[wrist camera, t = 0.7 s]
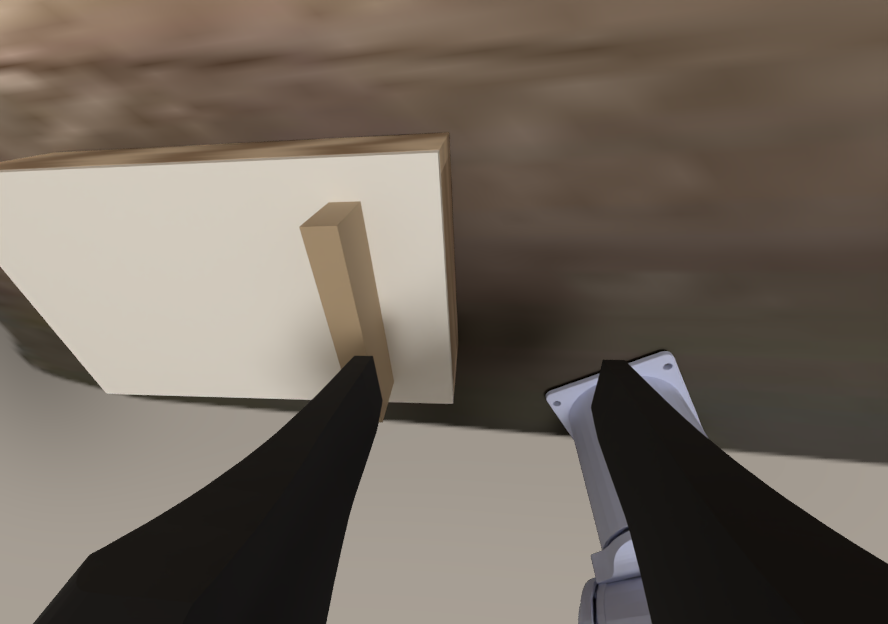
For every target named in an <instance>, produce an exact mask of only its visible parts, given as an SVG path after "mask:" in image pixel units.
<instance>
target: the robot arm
mask: <svg viewBox="0 0 888 624" xmlns="http://www.w3.org/2000/svg"><path fill="white" fill-rule="evenodd" d="M665 364H668V365H665ZM546 400H547V402H548V403H549V405H550V406H551V408H552V409H553V411H554V412H555V414H556V415H557V416H558V418H559V419H560V421H561V422H562V424H563V425H564V427H565V428H566V430H567V431H568V433H569V434H570V435H571V437H572V438H573V440H574V441H575V445H576V449H577V453H578V457H579V461H580V465H581V469H582V473H583V477H584V481H585V485H586V489H587V493H588V496H589V500H590V504H591V508H592V512H593V516H594V520H595V524H596V527H597V532H598V535H599V540H600V543H601V548H602V551H600V552H597V553H594V554H592V555H591V560H592V564H593V568H594V572H595V578H592V579H590V580H588V581H587V583H586V584H585V586H584V588H583V591H582V596H581V603H580V607H579V616H578V617H579V618H578V624H888V564H887V563H885V562H884V561H882V560H881V559H879V558H877V557H876V556H874V555H872V554H871V553H869V552H868V551H866V550H864V549H863V548H861V547H859V546H858V545H856V544H854V543H853V542H851V541H849V540H848V539H847V538H845V537H844V536H842V535H840V534H839V533H837V532H835V531H834V530H833V529H831V528H829V527H828V526H826V525H825V524H823V523H822V522H820V521H819V520H817V519H816V518H814V517H813V516H811V515H810V514H808V513H807V512H805V511H804V510H803V509H801V508H800V507H798V506H797V505H795V504H794V503H792V502H791V501H789V500H788V499H786V498H785V497H784V496H782V495H781V494H779V493H778V492H776V491H775V490H774V489H772V488H771V487H769V486H768V485H767V484H765V483H764V482H763V481H761V480H760V479H759V478H757V477H756V476H755V475H753V474H752V473H751V472H749V471H748V470H747V469H745V468H744V467H743V466H741V465H740V464H739V463H737V462H736V461H735V460H734V459H732V458H731V457H730V456H729V455H727V454H726V453H725V452H724V451H722V450H721V449H720V448H719V447H718V446H717V445H715V444H714V443H713V442H712V441H711V440H709V438H708V437H707V435H706V434H705V432H704V430H703V428H702V426H701V423H700V421H699V418H698V416H697V413H696V411H695V408H694V406H693V403H692V401H691V398H690V396H689V393H688V391H687V388H686V386H685V383H684V381H683V378H682V376H681V373H680V371H679V368H678V366H677V363H676V361H675V358H674V357H673V355H672V354H671V352H668V351H662V352H659V353H656V354H653V355H650V356H647V357H644V358H642V359H639V360H636V361H633V362H630V363H627V362H626V361H625V360H603V362H602V366H601V370H600V373H599V374H596V375H593V376H590V377H587V378H585V379H582V380H579V381H576V382H573V383H570V384H568V385H565V386H562V387H559V388H556V389H553V390H550V391H548V392H547V393H546ZM555 401H558V402H555ZM382 402H383V400H382V395H381V390H380V386H379V381H378V377H377V372H376V367H375V363H374V358H373V356H354V357H353V358H352V359H351V360H350V361H349V362H348V363H347V364H346V365H345V366H344V367H343V368H342V369H341V370H340V371H339V372H338V373H337V374H336V375H335V376H334V377H333V378H332V380H331V381H330V382H329V383H328V384H327V385H326V386H325V387H324V388H323V389H322V390H321V391H320V392H319V393H318V394H317V395H316V396H315V397H314V398H313V399H312V400H311V401H310V402H309V403H308V404H307V405H306V406H305V407H304V408H303V409H302V410H301V411H300V412H299V413H298V414H296V415H295V416H294V417H293V418H292V419H291V420H290V421H289V422H288V423H287V424H286V425H285V426H284V427H282V428H281V429H280V430H279V431H278V432H277V433H276V434H274V435H273V436H272V437H271V438H270V439H269V440H267V441H266V442H265V443H264V444H262V445H261V446H260V447H259V448H257V449H256V450H255V451H254V452H252V453H251V454H250V455H248V456H247V457H246V458H245V459H243V460H242V461H241V462H239V463H238V464H236V465H235V466H233V467H232V468H231V469H229V470H228V471H227V472H225V473H224V474H222V475H221V476H219V477H218V478H217V479H215V480H214V481H212V482H211V483H210V484H208V485H207V486H205V487H204V488H202V489H201V490H199V491H198V492H196V493H195V494H193V495H192V496H190V497H188V498H187V499H185V500H184V501H182V502H181V503H179V504H177V505H176V506H174V507H172V508H171V509H169V510H168V511H166V512H164V513H163V514H161V515H160V516H158V517H156V518H155V519H153V520H151V521H149V522H148V523H146V524H144V525H142V526H141V527H139V528H137V529H135V530H133V531H132V532H130V533H128V534H126V535H125V536H123V537H121V538H119V539H117V540H116V541H114V542H112V543H110V544H109V545H107V546H105V547H103V548H101V549H100V550H98V551H96V552H94V553H92V554H90V555H89V556H88V557H87V559H86V560H85V561H84V562H83V563H82V565H81V566H80V567H79V568H78V569H77V571H76V572H75V573H74V574H73V576H72V577H71V578H70V579H69V580H68V582H67V583H66V584H65V585H64V587H63V588H62V589H61V590H60V591H59V593H58V594H57V595H56V597H55V598H54V599H53V600H52V602H50V604H49V605H48V606H47V607H46V609H45V610H44V611H43V612H42V613H41V615H40V616H39V617H38V618H37V620H36V621H35V622H34V623H33V624H326V621H327V616H328V611H329V606H330V601H331V595H332V590H333V586H334V581H335V577H336V572H337V567H338V563H339V558H340V553H341V549H342V544H343V540H344V536H345V532H346V527H347V523H348V519H349V515H350V511H351V508H352V504H353V501H354V498H355V495H356V492H357V489H358V486H359V482H360V479H361V477H362V474H363V471H364V468H365V465H366V462H367V459H368V456H369V453H370V450H371V447H372V444H373V441H374V438H375V434H376V431H377V427H378V423H379V418H380V413H381V408H382Z"/></svg>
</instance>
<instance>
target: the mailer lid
mask: <svg viewBox="0 0 888 624" xmlns="http://www.w3.org/2000/svg"><path fill="white" fill-rule="evenodd" d="M0 267H1V268H2V269H3V270H4V271H5V273H6V274H7V275H8V276H9V277H10V279H11V280H12V281H13V282H14V283H15V285H16V286H17V287H18V288H19V289H20V291H21V292H22V293H23V294H24V295H25V297H26V298H27V299H28V300H29V301H30V303H31V304H32V305H33V306H34V307H35V309H36V310H37V311H38V312H39V313H40V315H41V316H42V317H43V318H44V319H45V321H46V322H47V323H48V324H49V325H50V326H51V328H52V329H53V330H54V331H55V332H56V334H57V335H58V336H59V337H60V338H61V340H62V341H63V342H64V343H65V344H66V346H67V347H68V348H69V349H70V350H71V352H72V353H73V354H74V355H75V356H76V358H77V359H78V360H79V361H80V362H81V364H82V365H83V366H84V367H85V368H86V370H87V371H88V372H89V373H90V374H91V376H92V377H93V378H94V379H95V380H96V382H97V383H98V384H99V385H100V386H101V388H102V389H103V390H104V391H105V392H106V393H107V394H135V395H169V396H202V397H236V398H270V399H304V400H312V399H313V398H314V397H315V396H316V395H317V394H318V393H319V392H320V391H321V390H322V389H323V388H324V387H325V386H326V385H327V384H328V383H329V382H330V381H331V380H332V378H333V377H334V376H335V375H336V374H337V373H338V372H339V371H340V370H341V369H342V368H343V367H344V366H345V365H346V364H347V363H348V362H349V361H350V360H351V359H352V358H353V357H354V356H373V358H374V363H375V367H376V372H377V377H378V381H379V386H380V390H381V395H382V400H383V402H382V408H381V413H380V418H379V422H383V419H384V416H385V412H386V409H387V405H388V402H405V403H439V404H453V399H454V393H453V376H452V359H451V342H450V325H449V307H448V290H447V273H446V256H445V239H444V222H443V204H442V187H441V170H440V153H439V150H428V151H406V152H384V153H362V154H341V155H319V156H297V157H275V158H253V159H232V160H210V161H188V162H166V163H144V164H122V165H101V166H79V167H57V168H35V169H13V170H0Z"/></svg>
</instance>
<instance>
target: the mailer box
mask: <svg viewBox="0 0 888 624" xmlns="http://www.w3.org/2000/svg"><path fill="white" fill-rule="evenodd" d="M428 150H439V153H440V170H441V187H442V204H443V222H444V239H445V256H446V273H447V290H448V307H449V325H450V342H451V359H452V376H453V393H454V387H455V376H456V364H457V352H458V324H457V301H456V277H455V254H454V231H453V207H452V184H451V160H450V137H449V132H444V133H424V134H405V135H385V136H365V137H346V138H326V139H307V140H287V141H267V142H248V143H228V144H208V145H189V146H169V147H150V148H130V149H110V150H91V151H71V152H53V153H48V154H42V155H37V156H31V157H26V158H20V159H15V160H9V161H4V162H0V170H13V169H35V168H57V167H79V166H101V165H122V164H144V163H166V162H188V161H210V160H232V159H253V158H275V157H297V156H319V155H341V154H362V153H384V152H406V151H428Z"/></svg>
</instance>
